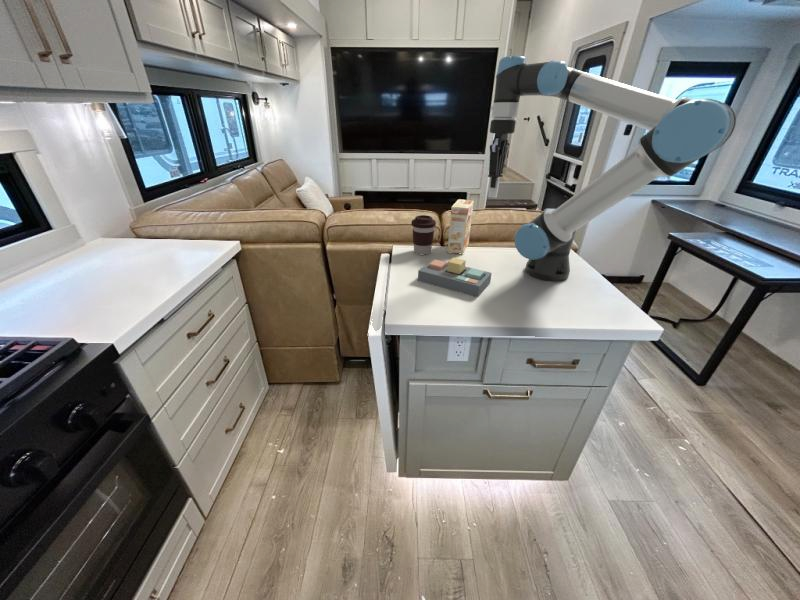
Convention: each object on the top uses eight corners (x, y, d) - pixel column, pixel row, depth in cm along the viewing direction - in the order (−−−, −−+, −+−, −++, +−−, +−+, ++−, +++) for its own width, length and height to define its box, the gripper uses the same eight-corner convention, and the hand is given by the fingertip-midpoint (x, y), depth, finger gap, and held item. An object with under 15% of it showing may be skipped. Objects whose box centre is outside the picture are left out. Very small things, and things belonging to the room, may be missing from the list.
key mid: (464, 269, 113) (465, 260, 111) (459, 274, 109) (460, 264, 108) (452, 266, 115) (453, 257, 113) (447, 271, 112) (447, 261, 110)
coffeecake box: (463, 255, 135) (468, 208, 126) (446, 252, 138) (450, 206, 128) (469, 243, 148) (474, 200, 138) (453, 241, 150) (457, 198, 140)
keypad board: (490, 283, 113) (491, 271, 111) (477, 297, 104) (479, 285, 102) (433, 268, 123) (434, 258, 121) (417, 280, 114) (418, 269, 112)
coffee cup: (412, 247, 143) (412, 213, 135) (434, 248, 142) (436, 214, 134) (409, 255, 134) (410, 220, 127) (433, 257, 133) (435, 221, 126)
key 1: (446, 271, 117) (446, 262, 115) (440, 275, 114) (441, 266, 112) (434, 268, 119) (435, 259, 118) (428, 272, 116) (429, 263, 114)
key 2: (483, 280, 111) (484, 271, 109) (478, 285, 107) (479, 276, 106) (470, 277, 113) (471, 268, 111) (465, 282, 110) (466, 272, 108)
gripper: (498, 118, 106) (488, 192, 118) (484, 119, 97) (475, 199, 109) (521, 118, 103) (508, 194, 115) (509, 119, 93) (497, 202, 105)
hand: (492, 196), depth 112 cm, fingers closed
